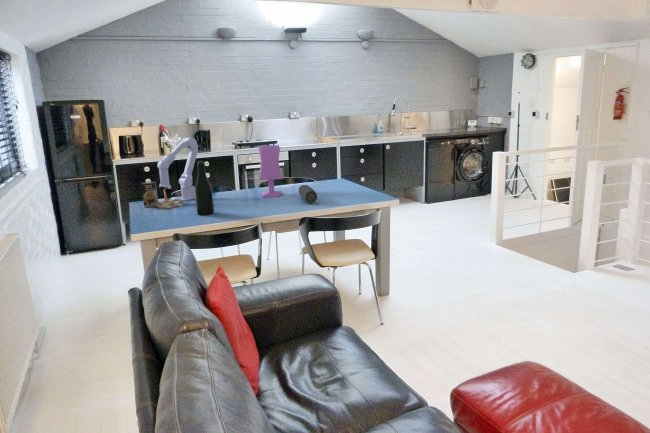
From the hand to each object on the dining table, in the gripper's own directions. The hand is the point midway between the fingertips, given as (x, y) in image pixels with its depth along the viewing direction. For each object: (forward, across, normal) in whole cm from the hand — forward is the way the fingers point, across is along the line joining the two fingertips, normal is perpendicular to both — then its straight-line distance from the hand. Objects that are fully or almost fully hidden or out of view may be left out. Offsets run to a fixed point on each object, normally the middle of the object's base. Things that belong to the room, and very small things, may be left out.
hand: (166, 197), depth 327 cm
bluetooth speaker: (+4, +73, +67) cm, 99 cm away
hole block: (+4, +11, -3) cm, 12 cm away
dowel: (+4, 0, 0) cm, 4 cm away
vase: (+4, +37, +63) cm, 73 cm away
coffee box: (+4, 0, -11) cm, 12 cm away
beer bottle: (+4, +50, +3) cm, 50 cm away
